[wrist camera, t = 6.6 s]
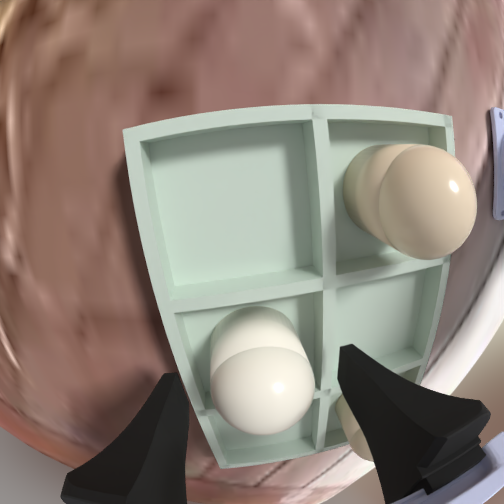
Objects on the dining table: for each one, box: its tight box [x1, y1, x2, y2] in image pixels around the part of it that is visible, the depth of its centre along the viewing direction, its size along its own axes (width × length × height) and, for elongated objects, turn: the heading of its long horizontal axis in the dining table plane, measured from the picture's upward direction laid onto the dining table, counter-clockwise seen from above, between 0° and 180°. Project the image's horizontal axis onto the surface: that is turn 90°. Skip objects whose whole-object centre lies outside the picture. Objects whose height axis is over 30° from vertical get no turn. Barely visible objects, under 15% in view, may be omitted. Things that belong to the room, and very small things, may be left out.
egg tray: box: [123, 104, 455, 469], centre depth 14 cm, size 15×22×2 cm
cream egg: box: [210, 306, 315, 435], centre depth 12 cm, size 4×4×5 cm
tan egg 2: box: [343, 144, 477, 260], centre depth 10 cm, size 4×4×5 cm
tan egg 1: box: [335, 393, 374, 462], centre depth 14 cm, size 4×4×5 cm
